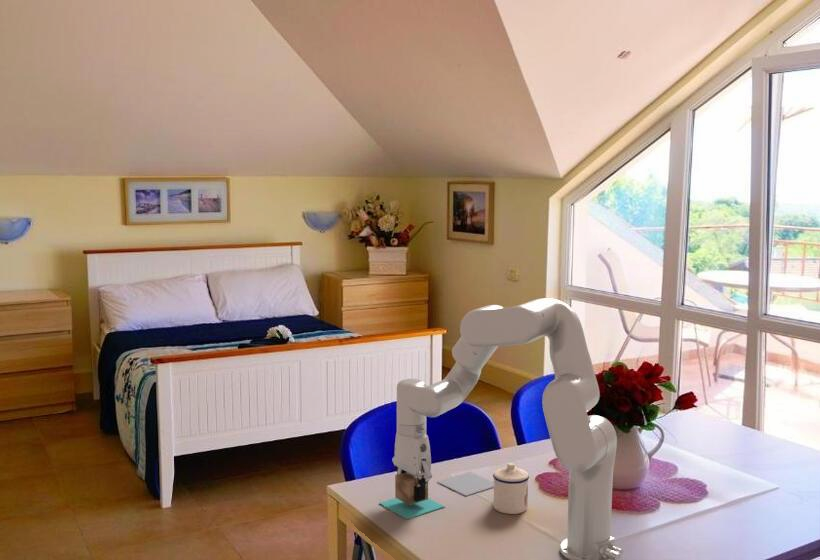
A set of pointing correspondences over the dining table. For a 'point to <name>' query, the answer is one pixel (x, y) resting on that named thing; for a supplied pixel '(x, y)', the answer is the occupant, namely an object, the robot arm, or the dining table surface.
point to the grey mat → (467, 483)
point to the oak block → (407, 488)
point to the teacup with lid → (510, 489)
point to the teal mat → (411, 507)
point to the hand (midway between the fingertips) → (411, 495)
